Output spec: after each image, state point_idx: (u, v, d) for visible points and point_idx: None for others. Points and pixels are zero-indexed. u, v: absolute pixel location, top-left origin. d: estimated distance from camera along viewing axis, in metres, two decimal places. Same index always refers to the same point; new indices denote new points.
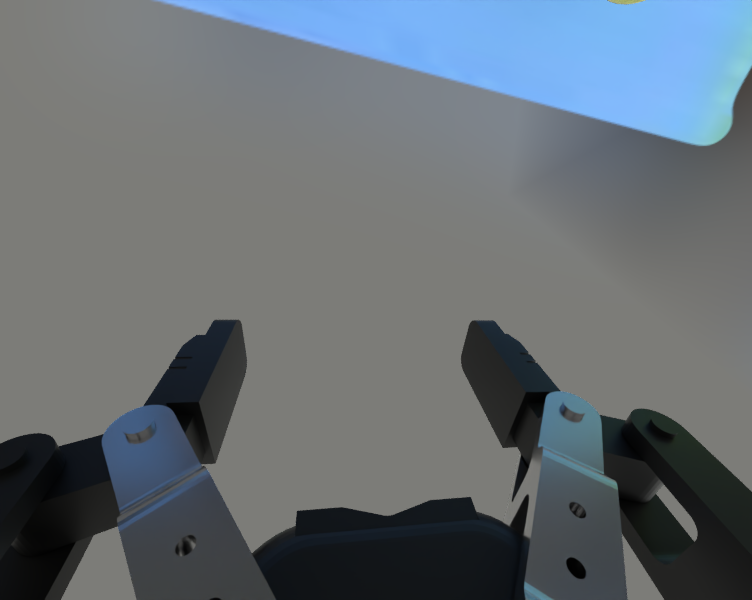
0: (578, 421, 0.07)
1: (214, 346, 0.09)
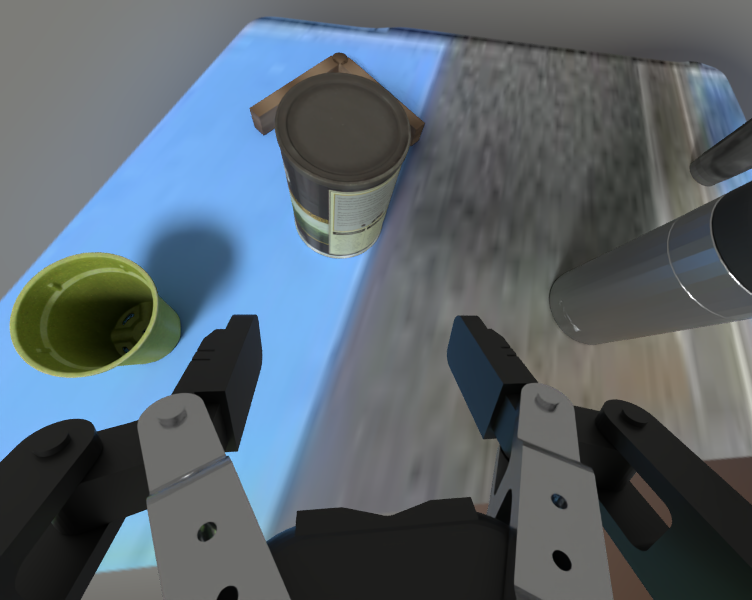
0: (551, 411, 0.08)
1: (235, 339, 0.09)
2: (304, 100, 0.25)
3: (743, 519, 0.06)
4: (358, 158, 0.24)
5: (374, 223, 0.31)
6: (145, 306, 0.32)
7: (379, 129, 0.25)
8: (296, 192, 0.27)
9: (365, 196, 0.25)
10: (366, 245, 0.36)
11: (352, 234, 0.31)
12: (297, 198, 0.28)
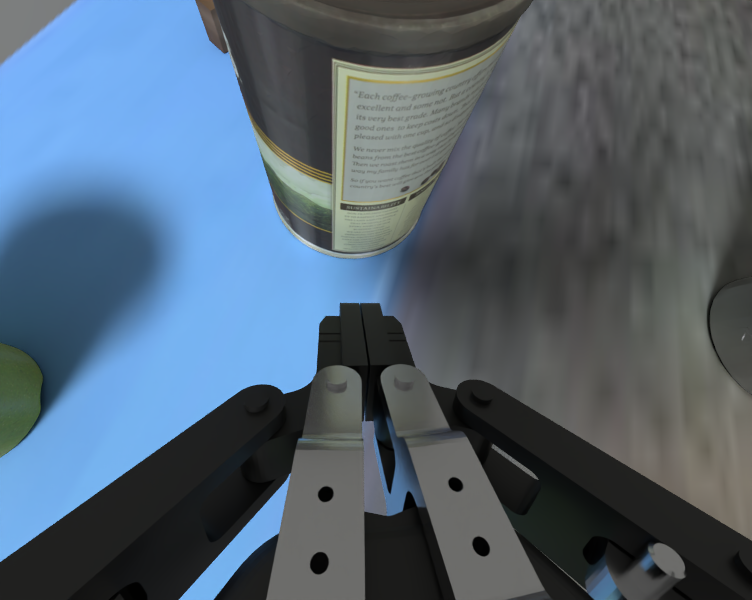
0: (402, 389, 0.08)
1: (353, 323, 0.10)
2: None
3: (582, 456, 0.07)
4: None
5: (424, 188, 0.16)
6: None
7: None
8: (255, 102, 0.11)
9: (430, 93, 0.09)
10: (399, 235, 0.20)
11: (379, 210, 0.15)
12: (260, 121, 0.12)
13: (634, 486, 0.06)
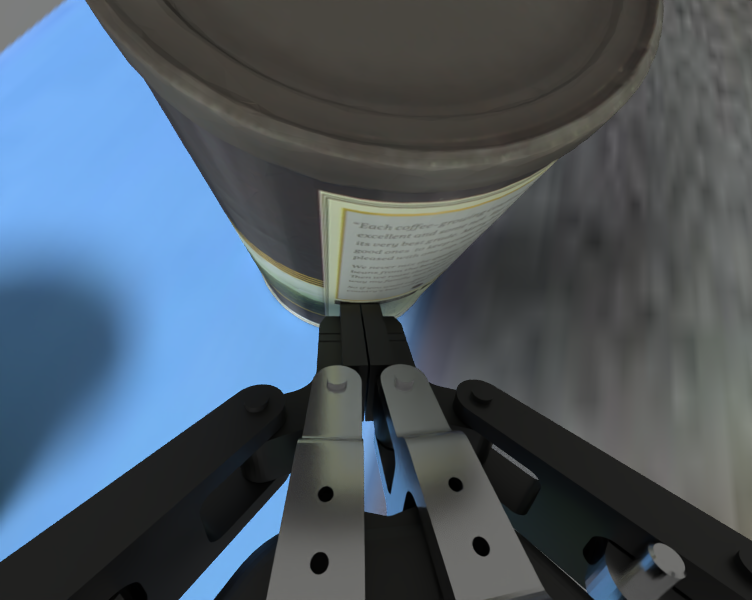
0: (402, 389, 0.08)
1: (353, 323, 0.10)
2: None
3: (581, 457, 0.07)
4: (461, 42, 0.05)
5: (439, 275, 0.13)
6: None
7: None
8: (218, 198, 0.08)
9: (465, 218, 0.06)
10: (405, 308, 0.17)
11: (383, 303, 0.12)
12: (228, 214, 0.09)
13: (635, 486, 0.06)
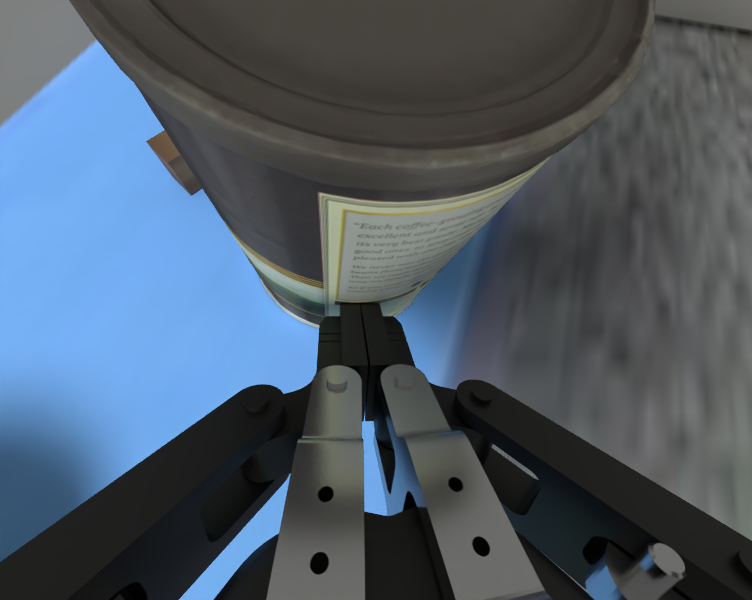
0: (402, 389, 0.08)
1: (353, 323, 0.10)
2: None
3: (581, 457, 0.07)
4: (456, 38, 0.05)
5: (438, 272, 0.13)
6: None
7: None
8: (214, 203, 0.08)
9: (465, 215, 0.06)
10: (405, 306, 0.17)
11: (383, 302, 0.12)
12: (224, 219, 0.09)
13: (635, 486, 0.06)
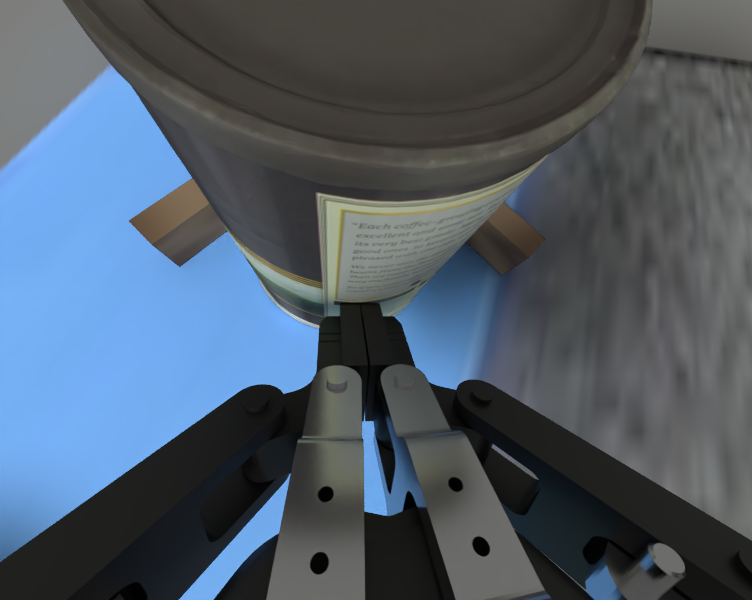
0: (402, 389, 0.08)
1: (353, 323, 0.10)
2: None
3: (581, 457, 0.07)
4: (453, 36, 0.05)
5: (437, 271, 0.13)
6: None
7: None
8: (212, 204, 0.08)
9: (463, 213, 0.06)
10: (404, 305, 0.17)
11: (382, 301, 0.12)
12: (222, 220, 0.09)
13: (635, 487, 0.06)
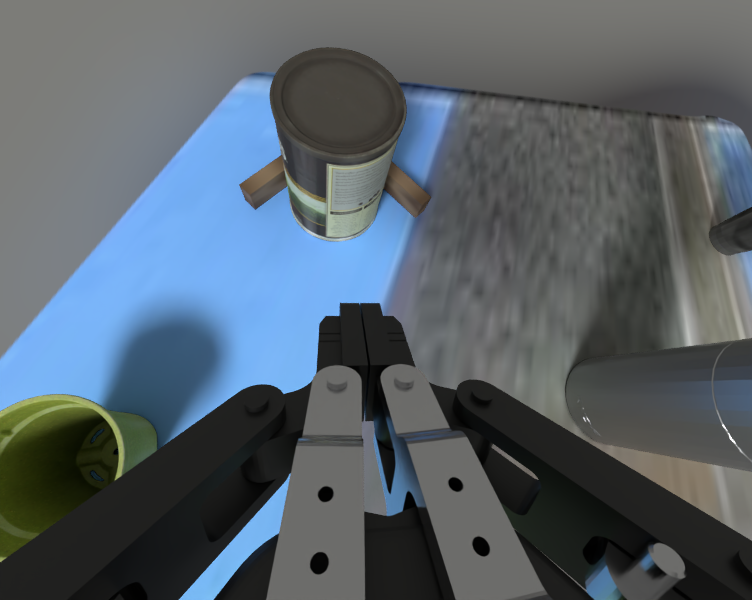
0: (402, 389, 0.08)
1: (353, 323, 0.10)
2: (298, 74, 0.25)
3: (581, 457, 0.07)
4: (355, 131, 0.24)
5: (371, 202, 0.31)
6: None
7: (375, 103, 0.25)
8: (293, 170, 0.27)
9: (363, 170, 0.25)
10: (363, 227, 0.36)
11: (349, 214, 0.31)
12: (294, 177, 0.28)
13: (634, 486, 0.06)
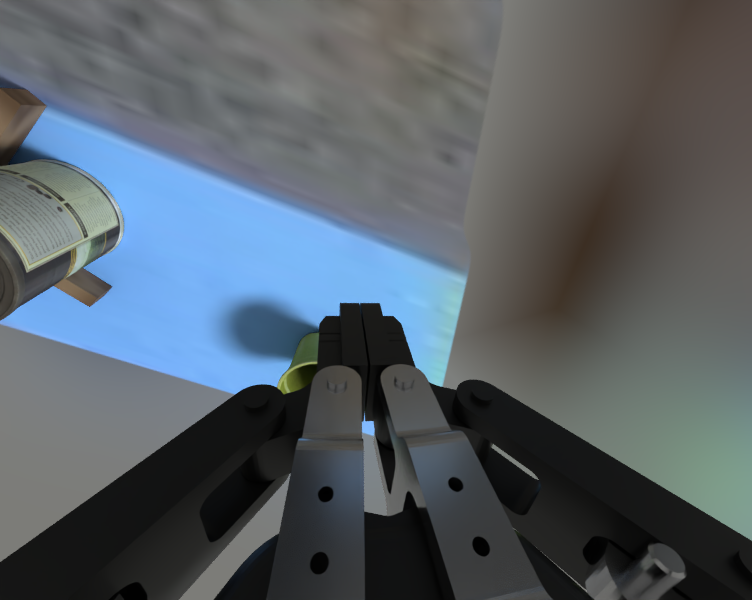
0: (402, 389, 0.08)
1: (353, 323, 0.10)
2: None
3: (581, 457, 0.07)
4: None
5: (51, 192, 0.27)
6: None
7: None
8: (50, 286, 0.28)
9: (14, 231, 0.23)
10: (90, 185, 0.31)
11: (79, 216, 0.29)
12: (58, 281, 0.28)
13: (635, 487, 0.06)
